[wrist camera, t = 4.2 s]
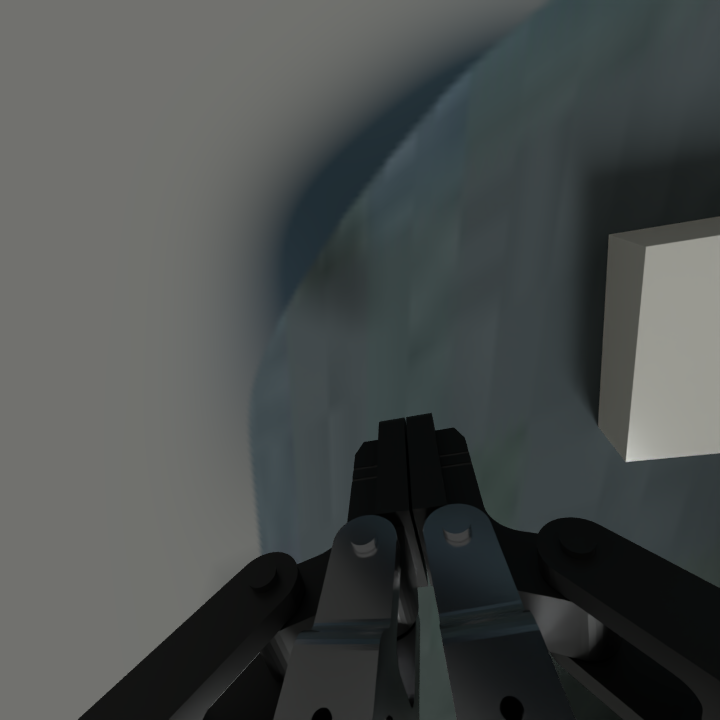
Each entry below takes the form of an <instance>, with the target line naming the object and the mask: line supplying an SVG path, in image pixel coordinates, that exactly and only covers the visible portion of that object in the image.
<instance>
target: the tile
mask: <svg viewBox="0 0 720 720" xmlns="http://www.w3.org/2000/svg"><path fill="white" fill-rule="evenodd" d="M598 427H599V428H600V430H601V431H602V432H603V433H604V435H605V436H606V437H607V439H608V440H609V441H610V442H611V444H612V445H613V446H614V448H615V449H616V450H617V451H618V453H619V454H620V455H621V457H622V458H623V459H624V460H625V462H630V461H641V460H651V459H662V458H673V457H683V456H694V455H705V454H716V453H720V216H719V217H713V218H707V219H701V220H694V221H688V222H682V223H676V224H670V225H664V226H658V227H652V228H645V229H639V230H633V231H627V232H621V233H615V234H609V241H608V258H607V276H606V294H605V312H604V329H603V347H602V365H601V382H600V400H599V418H598Z"/></svg>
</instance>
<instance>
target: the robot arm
mask: <svg viewBox="0 0 720 720" xmlns="http://www.w3.org/2000/svg"><path fill="white" fill-rule="evenodd" d="M406 422H407V424H406ZM426 568H427V569H426ZM427 572H428V576H429V580H430V584H431V586H433V588H434V593H435V598H436V604H437V609H438V614H439V620H440V631H441V637H442V643H443V648H444V653H445V659H446V664H447V669H448V675H449V680H450V686H451V691H452V696H453V702H454V707H455V712H456V718H457V720H576V718H575V715H574V713H573V710H572V708H571V705H570V703H569V701H568V698H567V696H566V693H565V691H564V688H563V686H562V683H561V681H560V678H559V676H558V673H557V671H556V668H555V666H554V664H553V661H552V659H551V656H550V654H549V652H550V653H551V655H552V657H553V658H554V659H555V660H556V662H557V663H558V664H559V665H560V666H561V667H562V668H564V669H565V670H566V671H567V672H568V673H569V674H571V675H572V676H573V677H574V678H575V679H576V680H578V681H579V682H580V683H581V684H582V685H583V686H585V687H586V688H587V689H588V690H589V691H590V692H592V693H593V694H594V695H595V696H596V697H597V698H599V699H600V700H601V701H602V702H603V703H604V704H606V705H607V706H608V707H609V708H610V709H611V710H613V711H614V712H615V713H616V714H617V715H618V716H620V717H621V718H622V719H623V720H720V588H718V587H717V586H715V585H713V584H711V583H709V582H707V581H705V580H703V579H701V578H699V577H698V576H696V575H694V574H692V573H690V572H688V571H686V570H684V569H682V568H680V567H679V566H677V565H675V564H673V563H671V562H669V561H667V560H665V559H663V558H661V557H660V556H658V555H656V554H654V553H652V552H650V551H648V550H646V549H644V548H642V547H641V546H639V545H637V544H635V543H633V542H631V541H629V540H627V539H625V538H623V537H622V536H620V535H618V534H616V533H614V532H612V531H610V530H608V529H606V528H604V527H603V526H601V525H599V524H596V523H594V522H592V521H589V520H586V519H581V518H572V517H570V518H560V519H556V520H553V521H551V522H549V523H547V524H546V525H545V526H543V528H542V529H541V530H540V532H539V533H538V534H537V533H530V532H523V531H517V530H513V529H510V528H507V527H505V526H503V525H501V524H499V523H497V522H496V521H495V520H493V519H492V518H491V517H490V516H489V515H488V513H487V512H486V510H485V508H484V505H483V502H482V498H481V495H480V491H479V487H478V484H477V480H476V476H475V473H474V469H473V466H472V462H471V458H470V455H469V452H468V448H467V444H466V440H465V437H464V436H462V435H461V434H460V433H459V432H458V431H457V430H456V429H455V428H448V429H442V430H436V431H435V427H434V422H433V417H432V413H428V414H422V415H416V416H410V417H406V420H405V418H399V419H393V420H387V421H381V422H379V434H378V440H374V441H368V442H364V443H363V444H362V446H361V447H360V449H359V450H358V452H357V453H356V455H355V462H354V471H353V482H352V488H351V496H350V505H349V513H348V522H347V523H346V524H345V525H344V526H343V527H342V528H341V529H340V530H339V531H338V533H337V534H336V536H335V538H334V541H333V545H332V548H331V549H329V550H328V551H326V552H325V553H323V554H321V555H319V556H316V557H314V558H311V559H309V560H307V561H304V562H302V563H299V564H296V562H295V560H294V559H293V558H292V557H291V556H290V555H288V554H286V553H282V552H272V553H268V554H265V555H262V556H260V557H258V558H256V559H254V560H253V561H251V562H250V563H249V564H248V565H246V566H245V567H244V568H243V569H242V570H241V571H240V572H239V573H238V574H237V575H235V576H234V577H233V578H232V579H231V580H230V581H229V582H228V583H227V584H226V585H224V586H223V587H222V588H221V589H220V590H219V591H218V592H217V593H216V594H215V595H214V596H212V597H211V598H210V599H209V600H208V601H207V602H206V603H205V604H204V605H203V606H201V607H200V609H198V610H197V611H196V612H195V613H194V614H193V615H192V616H191V617H190V618H189V619H187V620H186V621H185V622H184V623H183V624H182V625H181V626H180V627H179V628H177V629H176V630H175V631H174V632H173V633H172V634H171V635H170V636H169V637H168V638H167V639H165V641H163V642H162V643H161V644H160V645H159V646H158V647H157V648H156V649H154V650H153V651H152V652H151V653H150V654H149V655H148V656H147V657H146V658H145V659H143V660H142V661H141V662H140V663H139V664H138V665H137V666H136V667H135V668H134V669H133V670H131V671H130V672H129V673H128V674H127V675H126V676H125V677H124V678H123V679H122V680H120V681H119V683H117V684H116V685H115V686H114V687H113V688H112V689H111V690H110V691H109V692H107V693H106V694H105V695H104V696H103V697H102V698H101V699H100V700H99V701H98V702H96V703H95V704H94V705H93V706H92V707H91V708H90V709H89V710H88V711H87V712H85V713H84V714H83V715H82V716H81V717H80V718H79V719H78V720H420V719H419V687H420V618H419V615H418V608H419V605H418V590H417V587H426V586H428V580H427ZM259 652H260V653H259ZM258 653H259V654H258ZM257 654H258V656H257V657H256V655H257ZM255 657H256V658H255ZM254 658H255V659H254ZM253 659H254V660H253ZM252 660H253V661H252ZM251 661H252V662H251ZM250 662H251V663H250ZM249 663H250V664H249ZM248 664H249V665H248ZM247 665H248V667H247V668H246V669H245V667H246V666H247ZM243 669H245V670H244V671H243ZM242 671H243V672H242ZM241 672H242V673H241ZM240 673H241V674H240ZM239 674H240V675H239ZM238 675H239V676H238ZM237 676H238V677H237ZM236 677H237V679H236V680H235V678H236ZM234 680H235V681H234ZM233 681H234V682H233ZM232 682H233V683H232ZM231 683H232V684H231ZM230 684H231V685H230ZM229 685H230V686H229ZM228 686H229V687H228ZM227 687H228V688H227ZM226 688H227V690H226V691H225V689H226ZM223 691H225V692H224V693H223ZM222 693H223V694H222ZM221 694H222V695H221ZM220 695H221V696H220ZM219 696H220V697H219ZM218 697H219V698H218ZM217 698H218V699H217ZM216 699H217V701H216V702H215V700H216ZM214 702H215V703H214ZM213 703H214V704H213ZM212 704H213V705H212ZM211 705H212V706H211ZM210 706H211V707H210Z"/></svg>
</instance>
